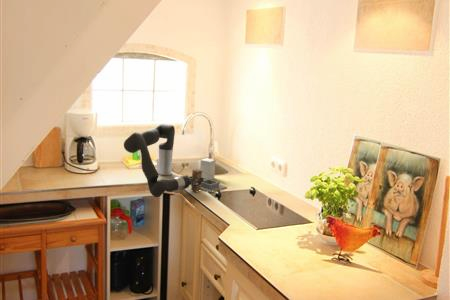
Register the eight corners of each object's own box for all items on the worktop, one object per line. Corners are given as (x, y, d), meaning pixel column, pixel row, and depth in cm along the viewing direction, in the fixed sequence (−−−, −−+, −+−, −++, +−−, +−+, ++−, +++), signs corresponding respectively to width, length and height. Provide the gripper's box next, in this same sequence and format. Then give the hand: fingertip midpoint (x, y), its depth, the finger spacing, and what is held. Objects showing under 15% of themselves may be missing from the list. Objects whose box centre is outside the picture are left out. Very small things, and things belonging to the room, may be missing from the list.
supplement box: (214, 178, 314) (216, 159, 311) (208, 180, 308) (210, 161, 305) (205, 175, 318) (206, 157, 315) (199, 178, 311) (200, 159, 309)
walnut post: (191, 190, 284) (192, 169, 281) (195, 189, 287) (197, 168, 284) (196, 192, 282) (197, 171, 279) (200, 191, 285) (201, 170, 282)
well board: (190, 186, 292) (191, 181, 292) (207, 181, 305) (208, 176, 304) (210, 192, 283) (210, 187, 282) (226, 188, 295) (227, 182, 294)
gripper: (170, 186, 277) (190, 181, 290) (188, 192, 268) (208, 187, 281) (171, 174, 275) (191, 169, 288) (189, 179, 267) (208, 175, 280)
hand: (199, 178), depth 285 cm, fingers open, 5 cm apart
